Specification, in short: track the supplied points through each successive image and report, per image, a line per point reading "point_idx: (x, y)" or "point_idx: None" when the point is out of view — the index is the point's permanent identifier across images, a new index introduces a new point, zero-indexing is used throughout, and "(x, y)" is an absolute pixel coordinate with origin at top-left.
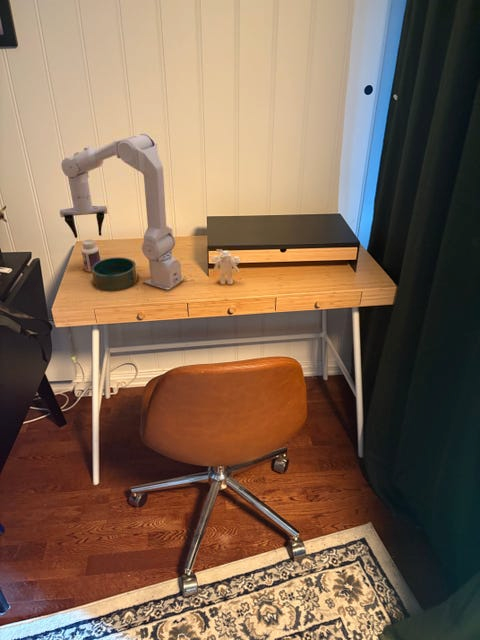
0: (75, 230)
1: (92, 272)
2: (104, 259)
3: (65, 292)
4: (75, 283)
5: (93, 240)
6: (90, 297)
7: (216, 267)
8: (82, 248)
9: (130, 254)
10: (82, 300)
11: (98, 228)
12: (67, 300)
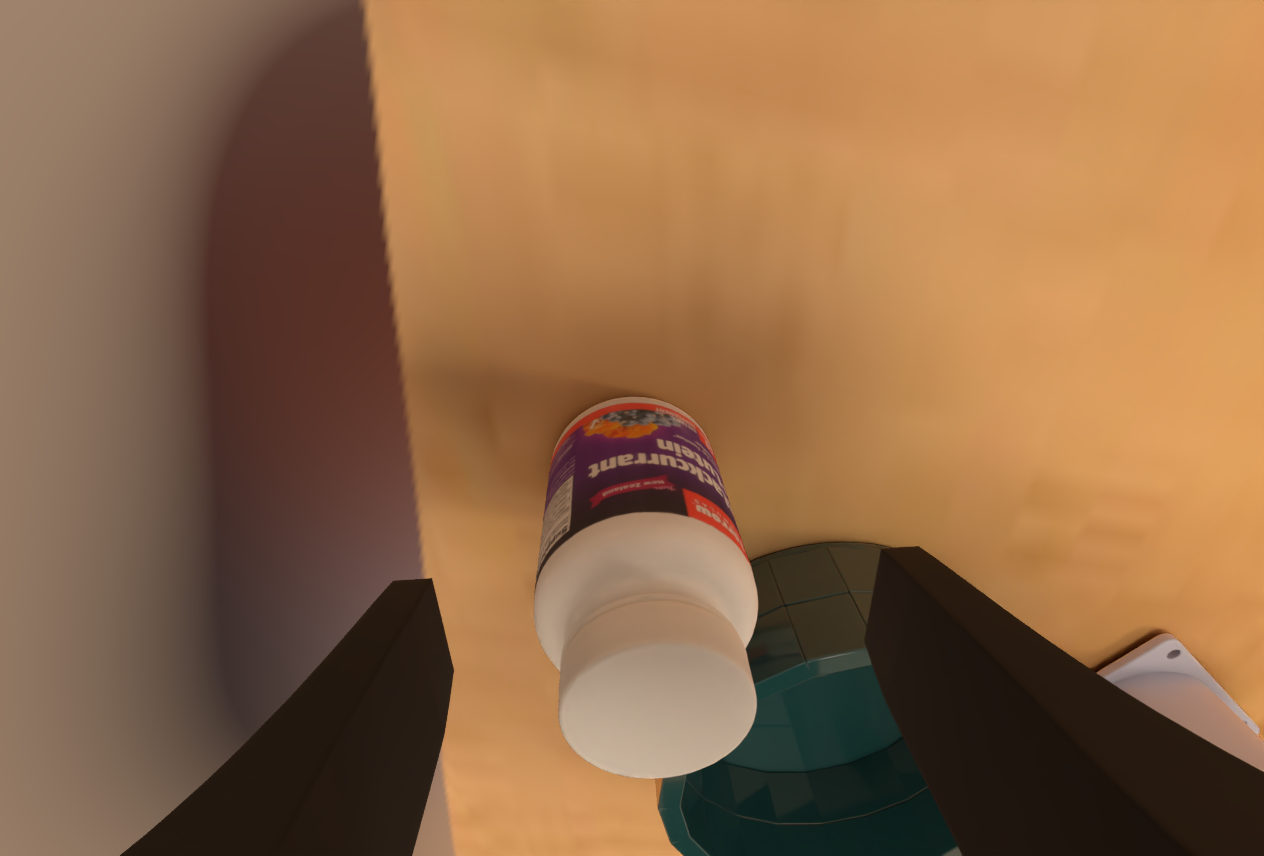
0: (404, 796)
1: (669, 838)
2: (791, 673)
3: (458, 764)
4: (505, 674)
5: (739, 690)
6: (633, 819)
7: None
8: (550, 631)
9: (1079, 170)
10: (587, 839)
11: (947, 818)
12: (494, 833)
